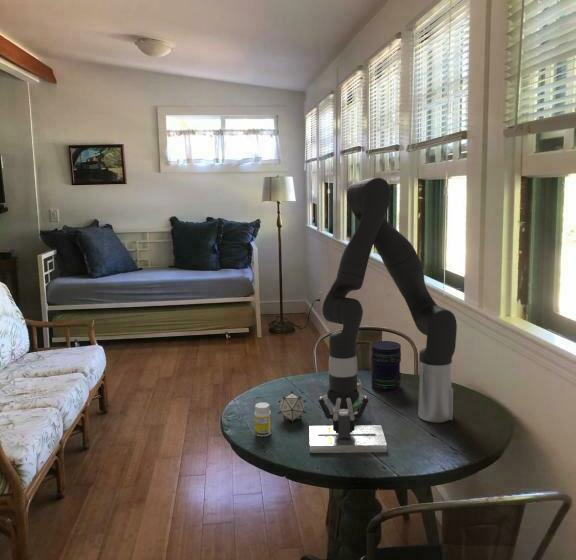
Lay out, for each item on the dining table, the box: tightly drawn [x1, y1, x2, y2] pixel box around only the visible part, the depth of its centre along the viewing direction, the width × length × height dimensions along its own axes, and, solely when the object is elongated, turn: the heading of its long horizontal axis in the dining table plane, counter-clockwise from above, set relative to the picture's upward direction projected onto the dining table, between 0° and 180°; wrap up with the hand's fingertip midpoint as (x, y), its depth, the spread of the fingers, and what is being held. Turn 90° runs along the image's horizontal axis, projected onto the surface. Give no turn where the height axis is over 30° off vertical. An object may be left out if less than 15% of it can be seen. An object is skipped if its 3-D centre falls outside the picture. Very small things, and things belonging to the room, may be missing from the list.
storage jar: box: [370, 340, 402, 394], centre depth 194 cm, size 10×10×15 cm
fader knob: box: [338, 409, 350, 438], centre depth 155 cm, size 3×5×6 cm, turn 178°
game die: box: [277, 390, 307, 424], centre depth 171 cm, size 9×8×10 cm
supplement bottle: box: [253, 402, 273, 437], centre depth 162 cm, size 5×5×8 cm
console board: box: [308, 424, 388, 454], centre depth 156 cm, size 20×12×2 cm, turn 88°
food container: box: [341, 377, 363, 413], centre depth 174 cm, size 12×6×10 cm, turn 168°
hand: (343, 431), depth 156 cm, fingers closed on fader knob, 3 cm apart
